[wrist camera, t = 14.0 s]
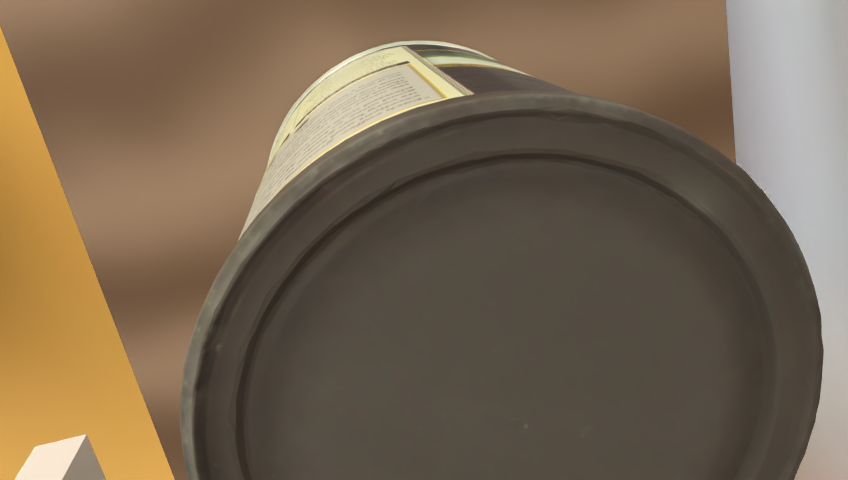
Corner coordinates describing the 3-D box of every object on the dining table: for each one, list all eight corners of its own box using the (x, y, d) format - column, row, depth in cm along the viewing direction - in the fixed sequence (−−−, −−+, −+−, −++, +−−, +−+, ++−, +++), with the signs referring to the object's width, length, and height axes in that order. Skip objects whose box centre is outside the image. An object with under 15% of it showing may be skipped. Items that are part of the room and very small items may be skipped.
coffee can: (559, 17, 24) (854, 52, 10) (573, 312, 27) (807, 622, 14) (233, 56, 23) (99, 148, 10) (289, 354, 26) (246, 729, 13)
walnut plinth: (25, -74, 25) (-44, -88, 21) (642, -204, 26) (709, -246, 22) (215, 455, 33) (195, 533, 28) (692, 339, 34) (750, 395, 29)
